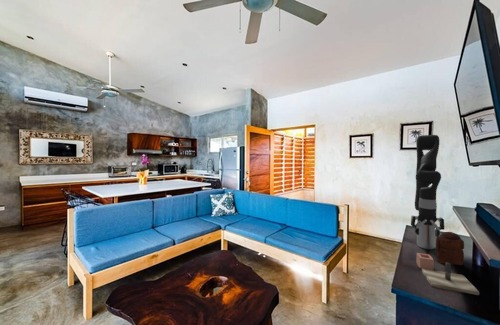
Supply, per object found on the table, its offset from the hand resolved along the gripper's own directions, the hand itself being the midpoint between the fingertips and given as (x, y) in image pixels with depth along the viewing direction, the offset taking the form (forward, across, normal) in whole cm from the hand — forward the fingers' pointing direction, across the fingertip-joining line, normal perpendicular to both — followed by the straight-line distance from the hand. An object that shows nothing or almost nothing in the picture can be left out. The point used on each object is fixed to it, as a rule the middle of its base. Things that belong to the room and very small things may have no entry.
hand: (426, 235), depth 117 cm
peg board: (+18, -5, +13) cm, 23 cm away
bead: (+18, +1, 0) cm, 18 cm away
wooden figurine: (+18, -14, -10) cm, 25 cm away
